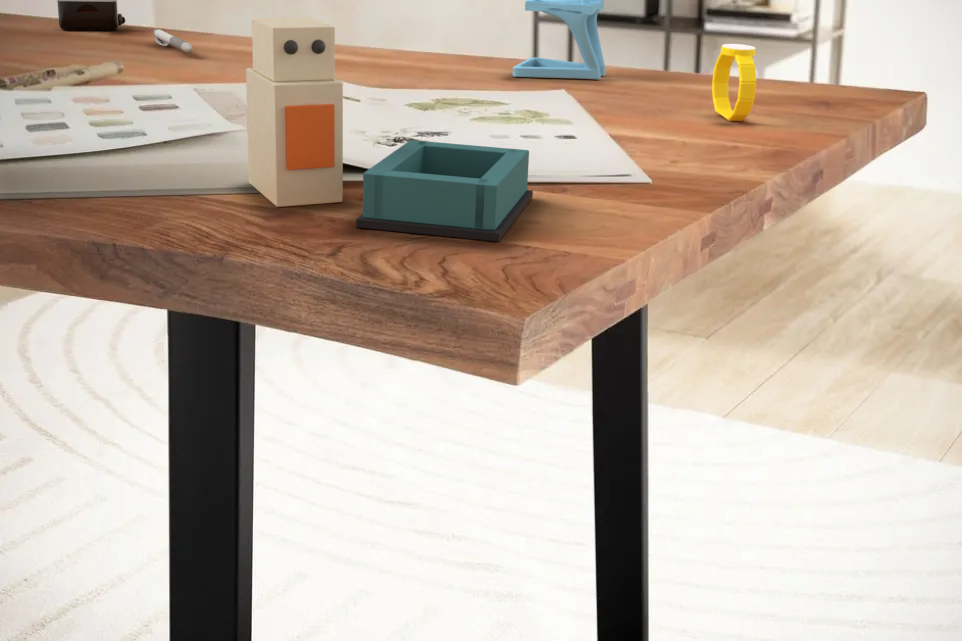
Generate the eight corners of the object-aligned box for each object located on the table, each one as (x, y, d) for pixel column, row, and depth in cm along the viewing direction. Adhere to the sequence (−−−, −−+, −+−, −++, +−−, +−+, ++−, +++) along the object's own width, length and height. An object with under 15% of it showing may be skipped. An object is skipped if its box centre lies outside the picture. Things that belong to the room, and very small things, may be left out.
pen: (160, 40, 133) (159, 27, 132) (196, 58, 122) (196, 44, 121) (150, 40, 132) (150, 27, 132) (186, 59, 121) (186, 44, 121)
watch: (701, 111, 105) (708, 40, 103) (731, 111, 106) (739, 41, 104) (728, 125, 99) (736, 50, 97) (760, 125, 100) (768, 51, 98)
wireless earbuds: (125, 31, 139) (124, 1, 137) (59, 31, 137) (56, 1, 136) (126, 26, 143) (124, -3, 142) (61, 25, 141) (59, -4, 140)
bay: (405, 186, 76) (406, 138, 75) (532, 198, 75) (535, 149, 74) (355, 227, 67) (355, 173, 66) (498, 242, 65) (501, 187, 64)
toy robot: (248, 183, 75) (244, 16, 72) (311, 178, 77) (309, 15, 74) (278, 208, 70) (274, 29, 67) (344, 203, 72) (344, 28, 68)
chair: (595, 83, 117) (604, -48, 112) (511, 76, 119) (517, -53, 115) (609, 72, 124) (619, -52, 120) (529, 66, 126) (536, -56, 122)
